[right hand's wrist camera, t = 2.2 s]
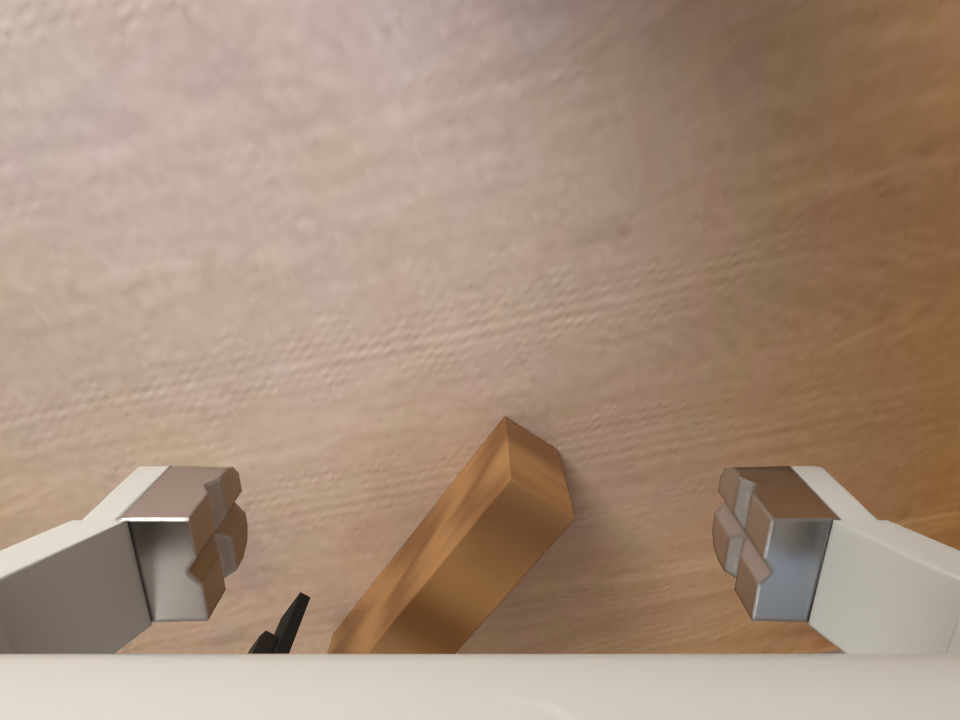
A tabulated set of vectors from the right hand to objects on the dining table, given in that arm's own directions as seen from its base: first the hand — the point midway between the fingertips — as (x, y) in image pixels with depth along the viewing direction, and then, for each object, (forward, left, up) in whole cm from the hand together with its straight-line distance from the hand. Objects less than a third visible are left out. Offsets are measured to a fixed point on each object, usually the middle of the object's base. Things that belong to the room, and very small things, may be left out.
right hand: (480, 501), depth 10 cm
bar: (+17, +15, -27) cm, 35 cm away
